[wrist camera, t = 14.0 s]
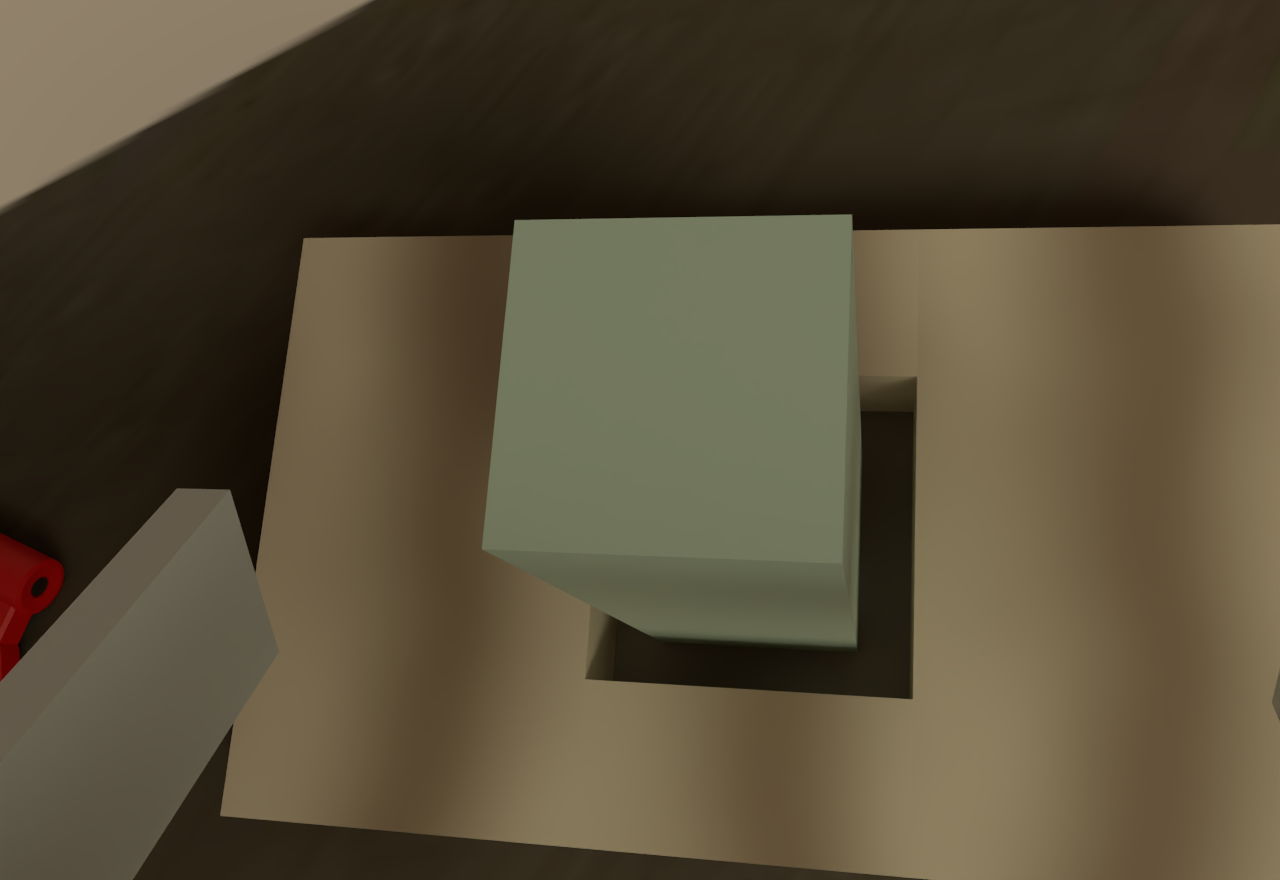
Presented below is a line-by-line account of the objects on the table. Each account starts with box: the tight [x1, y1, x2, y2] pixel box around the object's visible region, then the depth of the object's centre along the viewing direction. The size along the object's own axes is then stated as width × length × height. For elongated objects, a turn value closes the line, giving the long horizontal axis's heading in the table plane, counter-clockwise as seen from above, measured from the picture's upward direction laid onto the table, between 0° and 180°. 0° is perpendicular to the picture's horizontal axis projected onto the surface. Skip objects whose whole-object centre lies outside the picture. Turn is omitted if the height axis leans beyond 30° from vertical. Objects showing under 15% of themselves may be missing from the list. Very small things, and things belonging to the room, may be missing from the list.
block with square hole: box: [220, 225, 1280, 880], centre depth 24 cm, size 20×12×3 cm, turn 86°
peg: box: [482, 215, 862, 653], centre depth 19 cm, size 4×4×12 cm
